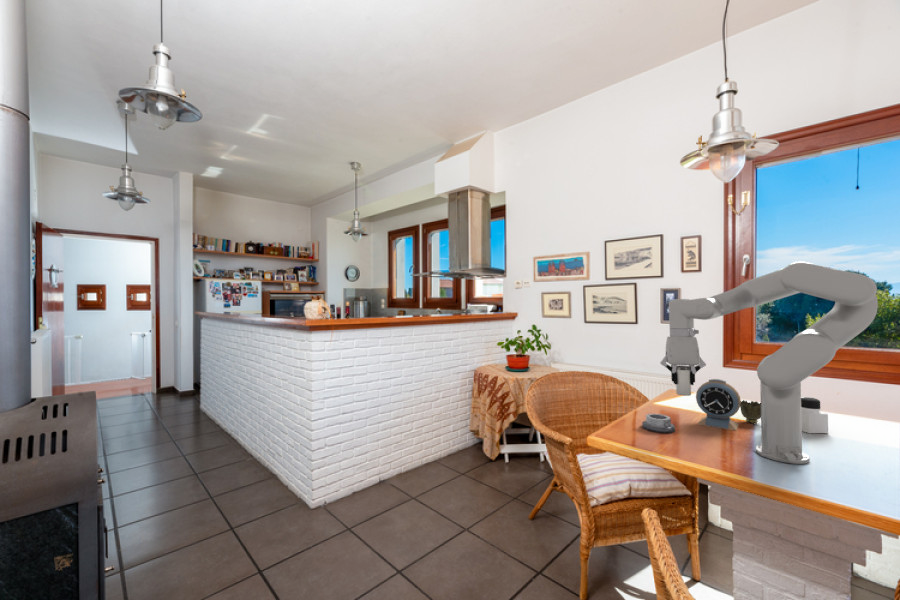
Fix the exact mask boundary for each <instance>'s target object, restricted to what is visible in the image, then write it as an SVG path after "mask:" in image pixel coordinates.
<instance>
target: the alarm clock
mask: <svg viewBox="0 0 900 600" xmlns="http://www.w3.org/2000/svg"><path fill="white" fill-rule="evenodd" d="M695 400H696V404H697V405H698V407H699V408H700V410H701V411H702V412H704V413H705V414H706V416H704V417H701V418H700V420H699V421H698V423H697V425H698V424H699V425H700V426H704V425H706V426H705V427H710V426H712V427H711V428H716V427H717V429H722V428H723V429H724V430H728V429H729V431H734V430H735V431H734V432H737V431H738V429H739V426H740V423H738V422H736V421H734V420H731V417H733V416H734V415H736V414H737V413H738V412H739V409H741V408H740V404H741V402H742V399H741V396H740V394H739V392H738V391H737V389H736V388H735V387H733V386H732V385H731V384H730V383H727V381H726V380H724V379H720V378H719V379H718V378H711V379H708V381H706V382H705V383H702V384H701V385H700V386H699V387H698V388H697V390H696V394H695ZM737 428H738V429H737Z"/></svg>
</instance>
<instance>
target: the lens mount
mask: <svg viewBox="0 0 900 600" xmlns="http://www.w3.org/2000/svg"><path fill="white" fill-rule="evenodd" d="M671 421H672V420H671V417H670V416H668V415H665V414H661V413H648V414H646V415H645V420H644V421H642V422H641V423H642V424H641V426H642V429H644V430H646V431H648V432H652V433H656V434H672V433H675V432H676V426H675V425H674V424H673V423H671Z"/></svg>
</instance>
